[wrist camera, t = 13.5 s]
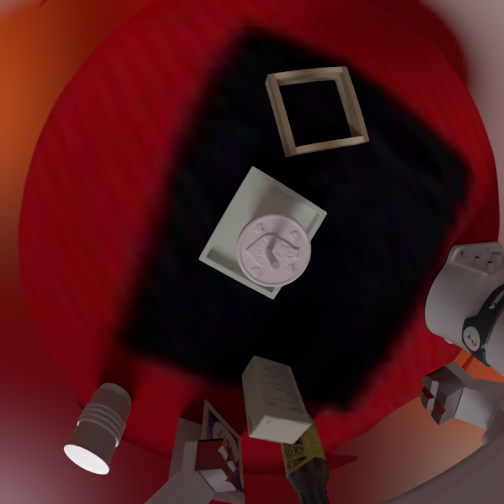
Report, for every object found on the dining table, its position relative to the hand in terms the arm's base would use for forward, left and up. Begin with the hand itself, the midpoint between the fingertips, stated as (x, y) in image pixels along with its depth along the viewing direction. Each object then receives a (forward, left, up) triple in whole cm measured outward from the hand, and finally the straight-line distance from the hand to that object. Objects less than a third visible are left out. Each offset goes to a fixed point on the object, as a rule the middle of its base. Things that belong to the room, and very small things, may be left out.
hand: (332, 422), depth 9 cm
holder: (-11, -16, -27) cm, 33 cm away
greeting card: (+15, +26, -27) cm, 40 cm away
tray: (-1, -3, -27) cm, 27 cm away
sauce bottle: (+1, +30, -27) cm, 40 cm away
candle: (+29, +17, -27) cm, 43 cm away
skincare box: (+3, +17, -27) cm, 32 cm away
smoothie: (-1, -3, -26) cm, 26 cm away
